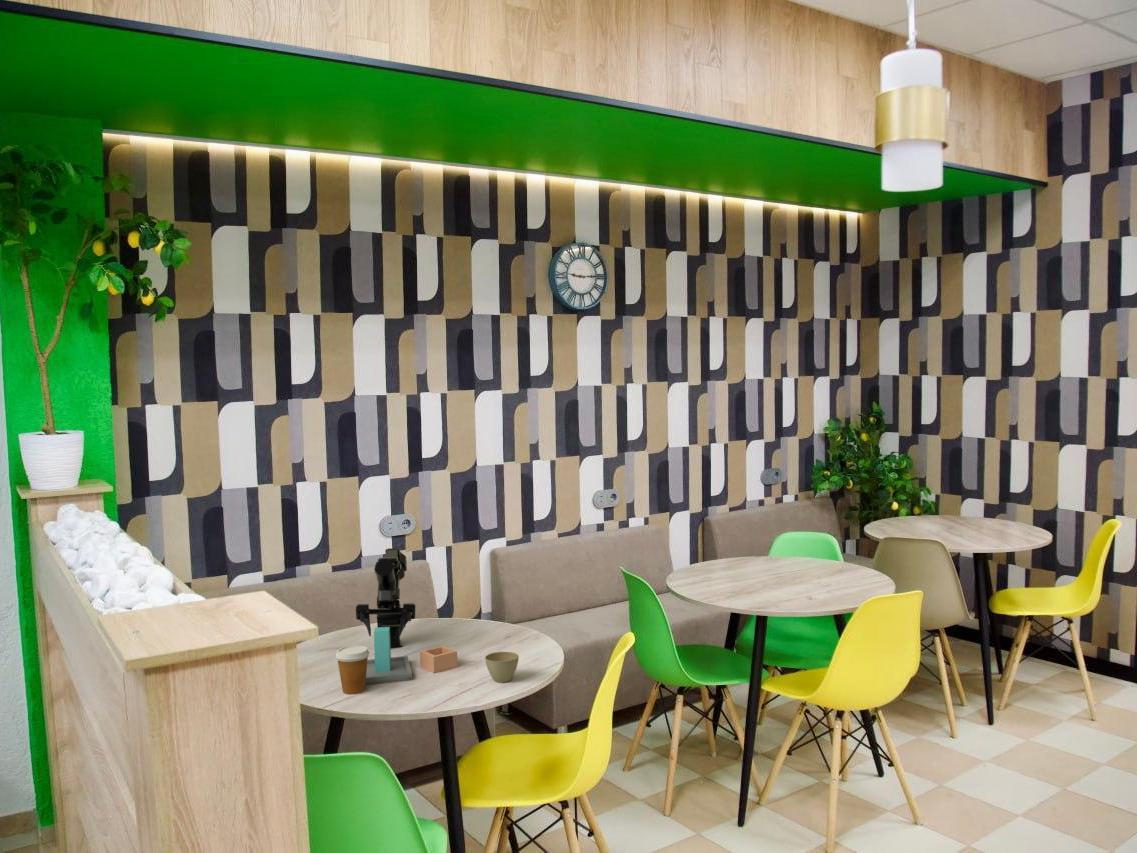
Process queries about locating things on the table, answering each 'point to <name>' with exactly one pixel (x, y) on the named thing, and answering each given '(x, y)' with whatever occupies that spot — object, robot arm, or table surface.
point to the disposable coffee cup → (353, 668)
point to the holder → (438, 659)
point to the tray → (397, 672)
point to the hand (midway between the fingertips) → (384, 635)
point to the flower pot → (502, 665)
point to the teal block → (382, 649)
